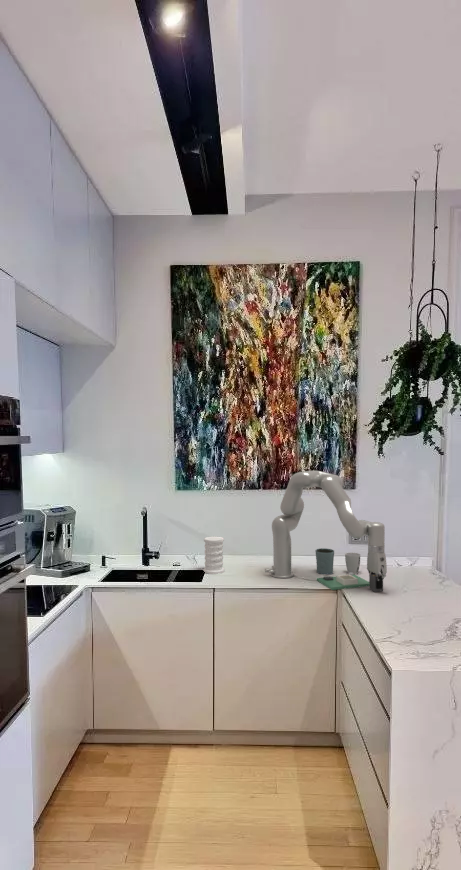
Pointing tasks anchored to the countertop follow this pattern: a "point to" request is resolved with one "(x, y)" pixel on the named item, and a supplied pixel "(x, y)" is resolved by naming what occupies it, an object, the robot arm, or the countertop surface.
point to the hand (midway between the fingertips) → (376, 586)
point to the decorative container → (213, 555)
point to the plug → (373, 583)
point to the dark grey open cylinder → (324, 561)
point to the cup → (352, 562)
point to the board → (343, 581)
